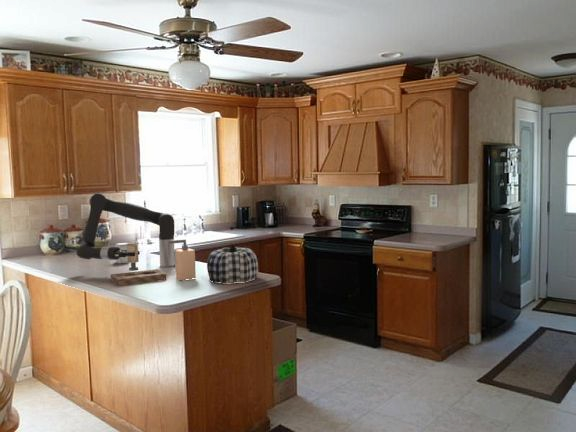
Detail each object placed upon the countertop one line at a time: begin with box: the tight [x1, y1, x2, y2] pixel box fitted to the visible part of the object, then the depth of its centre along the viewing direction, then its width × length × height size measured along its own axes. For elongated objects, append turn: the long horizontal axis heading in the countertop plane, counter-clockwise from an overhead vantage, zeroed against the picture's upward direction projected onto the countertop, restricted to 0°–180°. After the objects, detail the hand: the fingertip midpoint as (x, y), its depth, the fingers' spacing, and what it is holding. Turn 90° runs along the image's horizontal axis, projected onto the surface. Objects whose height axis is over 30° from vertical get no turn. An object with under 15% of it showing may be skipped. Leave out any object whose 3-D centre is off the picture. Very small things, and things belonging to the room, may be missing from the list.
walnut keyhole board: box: [110, 268, 167, 287], centre depth 287 cm, size 26×16×4 cm, turn 122°
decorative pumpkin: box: [206, 244, 259, 283], centre depth 285 cm, size 30×29×20 cm
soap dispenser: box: [169, 239, 197, 281], centre depth 288 cm, size 13×9×22 cm
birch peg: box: [127, 242, 139, 272], centre depth 299 cm, size 5×5×16 cm
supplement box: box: [115, 242, 129, 264], centre depth 345 cm, size 7×7×13 cm
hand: (137, 253), depth 298 cm, fingers closed on birch peg, 4 cm apart
